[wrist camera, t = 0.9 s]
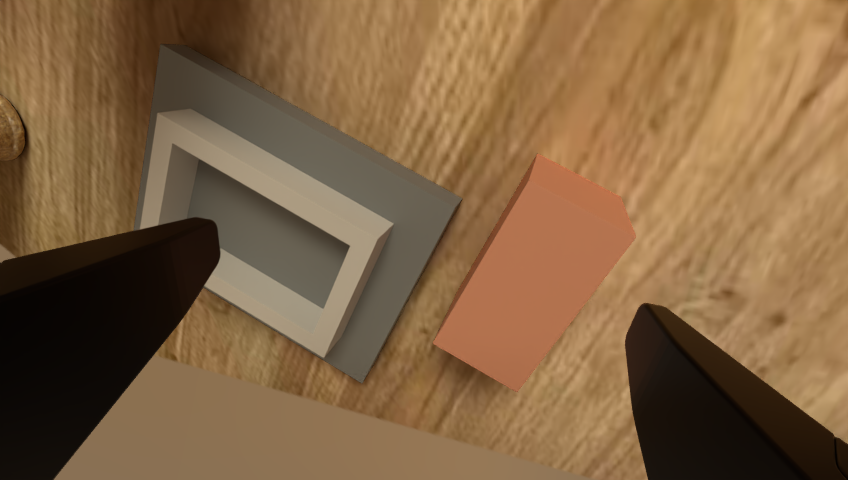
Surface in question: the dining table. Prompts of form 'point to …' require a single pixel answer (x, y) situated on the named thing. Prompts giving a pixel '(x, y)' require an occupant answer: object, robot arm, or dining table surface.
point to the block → (535, 272)
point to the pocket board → (289, 209)
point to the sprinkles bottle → (10, 131)
